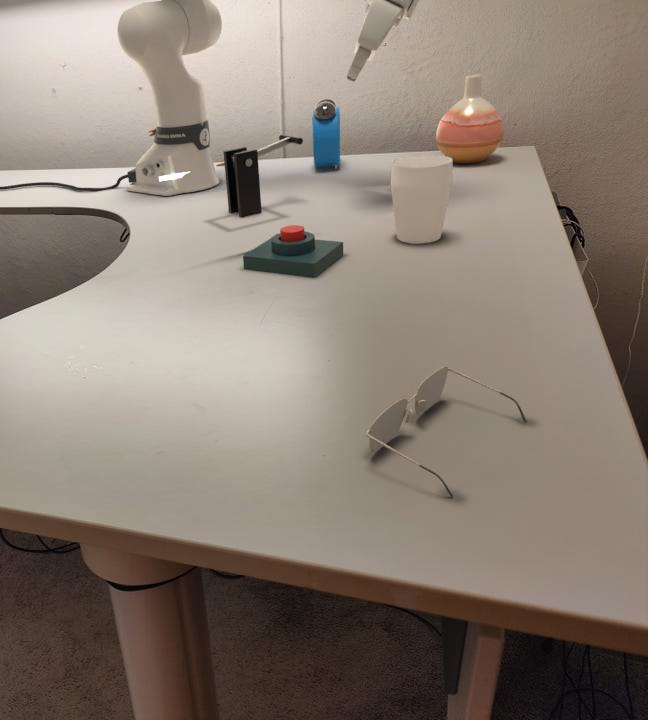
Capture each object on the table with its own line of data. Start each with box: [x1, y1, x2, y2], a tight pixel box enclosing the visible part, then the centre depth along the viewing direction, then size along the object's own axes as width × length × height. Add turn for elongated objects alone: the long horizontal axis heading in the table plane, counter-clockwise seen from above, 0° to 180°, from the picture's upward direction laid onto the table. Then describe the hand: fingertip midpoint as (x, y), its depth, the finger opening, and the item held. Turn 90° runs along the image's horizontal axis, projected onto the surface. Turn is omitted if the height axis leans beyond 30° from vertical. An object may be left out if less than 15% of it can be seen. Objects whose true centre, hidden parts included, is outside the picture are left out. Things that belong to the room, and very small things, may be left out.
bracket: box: [223, 146, 262, 219], centre depth 124 cm, size 12×9×13 cm
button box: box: [242, 230, 344, 278], centre depth 102 cm, size 12×10×4 cm
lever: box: [230, 134, 304, 169], centre depth 123 cm, size 13×6×2 cm, turn 115°
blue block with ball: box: [311, 97, 341, 170], centre depth 155 cm, size 13×6×15 cm, turn 168°
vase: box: [435, 74, 505, 165], centre depth 144 cm, size 14×14×18 cm
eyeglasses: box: [365, 365, 528, 498], centre depth 57 cm, size 14×8×4 cm, turn 133°
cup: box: [390, 154, 454, 245], centre depth 103 cm, size 9×9×12 cm
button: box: [279, 224, 305, 242], centre depth 101 cm, size 4×4×2 cm
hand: (350, 79), depth 118 cm, fingers open, 8 cm apart
